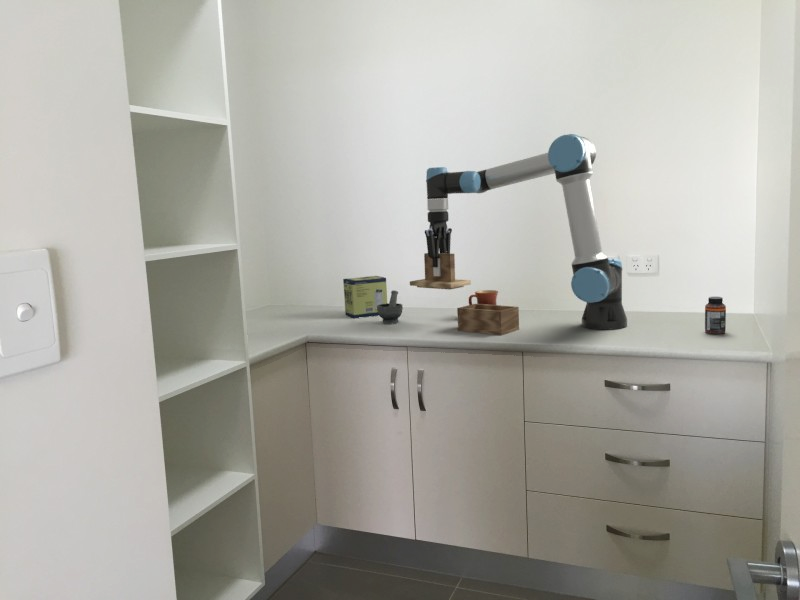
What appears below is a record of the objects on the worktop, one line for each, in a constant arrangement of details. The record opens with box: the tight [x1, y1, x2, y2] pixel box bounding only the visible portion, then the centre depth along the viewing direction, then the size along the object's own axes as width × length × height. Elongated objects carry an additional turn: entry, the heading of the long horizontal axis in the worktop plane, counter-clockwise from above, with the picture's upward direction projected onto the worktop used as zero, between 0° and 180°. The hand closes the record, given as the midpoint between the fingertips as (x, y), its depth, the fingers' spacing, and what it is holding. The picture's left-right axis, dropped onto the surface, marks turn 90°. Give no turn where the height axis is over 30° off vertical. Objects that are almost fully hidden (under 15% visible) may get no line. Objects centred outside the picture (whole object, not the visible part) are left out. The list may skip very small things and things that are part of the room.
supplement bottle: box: [704, 296, 727, 335], centre depth 212 cm, size 6×6×11 cm
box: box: [456, 303, 520, 336], centre depth 234 cm, size 18×11×8 cm, turn 49°
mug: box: [468, 289, 499, 305], centre depth 258 cm, size 12×9×10 cm
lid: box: [409, 252, 472, 291], centre depth 247 cm, size 19×12×12 cm, turn 49°
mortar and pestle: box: [377, 290, 404, 325], centre depth 259 cm, size 11×9×12 cm
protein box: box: [342, 275, 388, 319], centre depth 280 cm, size 10×16×16 cm
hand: (439, 275), depth 247 cm, fingers closed on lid, 2 cm apart
